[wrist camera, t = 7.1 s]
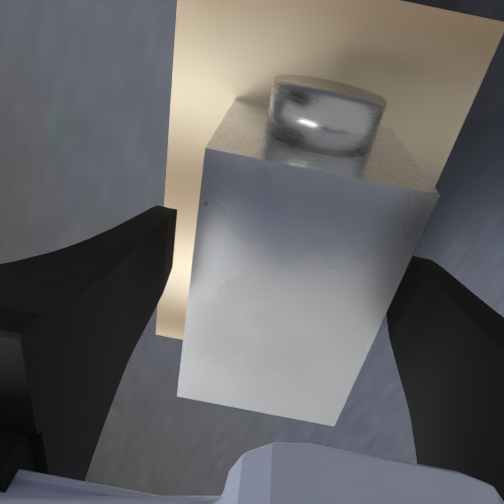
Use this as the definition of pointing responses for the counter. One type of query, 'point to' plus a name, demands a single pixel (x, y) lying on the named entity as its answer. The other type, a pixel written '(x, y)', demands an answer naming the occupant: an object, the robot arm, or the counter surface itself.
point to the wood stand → (320, 66)
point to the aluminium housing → (298, 248)
